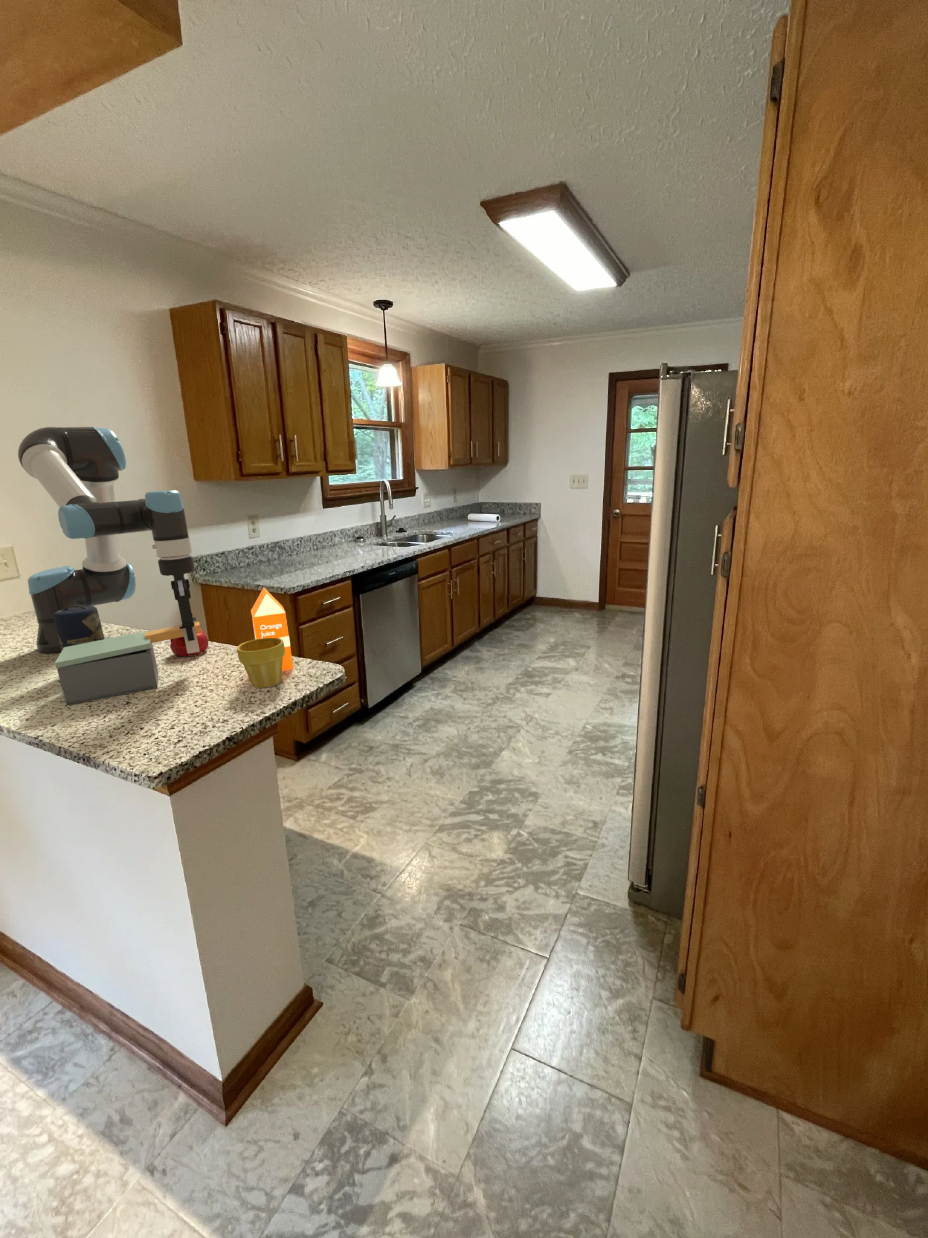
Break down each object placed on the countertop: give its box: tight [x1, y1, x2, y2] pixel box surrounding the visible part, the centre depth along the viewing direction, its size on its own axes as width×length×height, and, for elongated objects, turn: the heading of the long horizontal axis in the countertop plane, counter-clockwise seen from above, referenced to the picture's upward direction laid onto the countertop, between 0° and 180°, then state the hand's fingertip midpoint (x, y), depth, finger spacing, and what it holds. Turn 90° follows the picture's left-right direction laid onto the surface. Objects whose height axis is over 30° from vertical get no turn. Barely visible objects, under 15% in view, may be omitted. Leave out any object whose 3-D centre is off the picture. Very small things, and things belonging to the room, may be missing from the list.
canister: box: [53, 605, 105, 650], centre depth 143 cm, size 10×10×18 cm
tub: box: [56, 644, 159, 706], centre depth 132 cm, size 12×18×9 cm, turn 117°
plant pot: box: [236, 637, 285, 689], centre depth 130 cm, size 10×10×10 cm
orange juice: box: [250, 587, 294, 671], centre depth 140 cm, size 8×9×20 cm
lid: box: [54, 621, 202, 669], centre depth 132 cm, size 13×30×2 cm, turn 117°
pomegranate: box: [169, 624, 209, 657], centre depth 155 cm, size 10×10×9 cm
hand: (193, 649), depth 139 cm, fingers closed on lid, 4 cm apart
